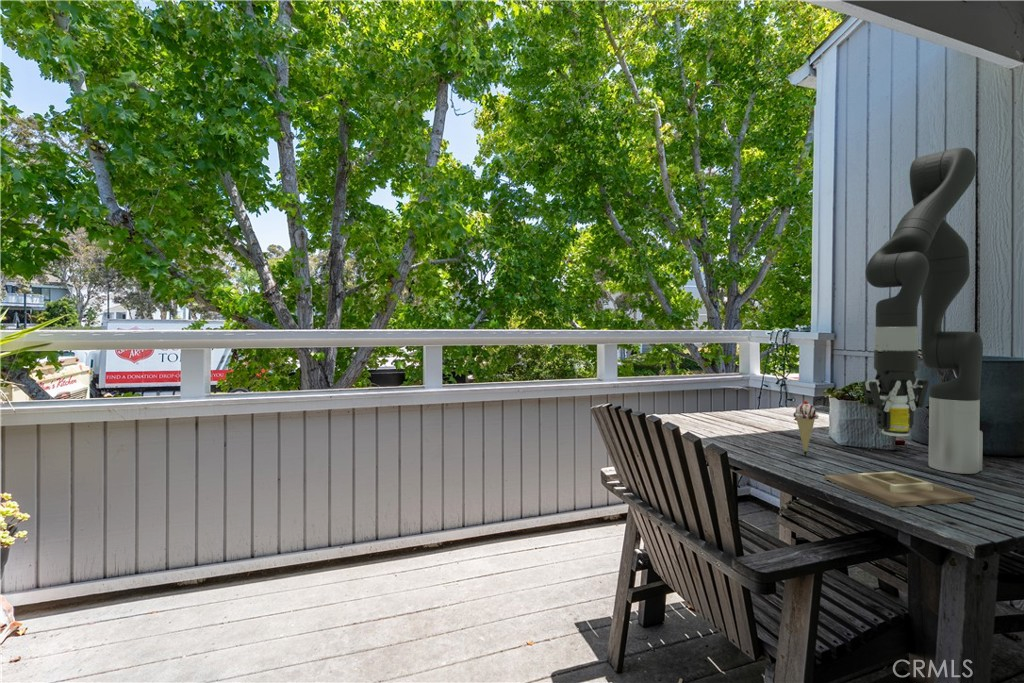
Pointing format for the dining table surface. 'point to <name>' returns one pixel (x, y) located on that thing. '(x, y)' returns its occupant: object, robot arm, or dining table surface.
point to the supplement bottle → (898, 417)
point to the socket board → (898, 489)
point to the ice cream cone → (805, 422)
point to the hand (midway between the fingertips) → (894, 428)
